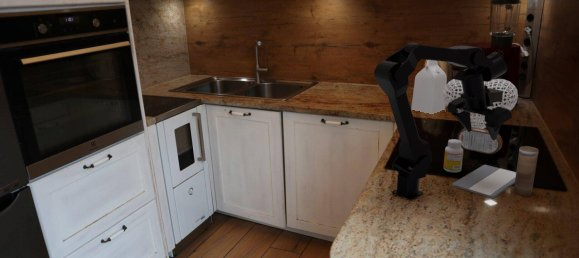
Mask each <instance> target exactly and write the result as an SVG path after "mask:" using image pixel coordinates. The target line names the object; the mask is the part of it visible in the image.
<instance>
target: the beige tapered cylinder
mask: <svg viewBox="0 0 579 258" xmlns="http://www.w3.org/2000/svg"><path fill="white" fill-rule="evenodd" d="M538 156H539V149H538V148H536V147H533V146H528V145H525V146H524V145H522V146H520V147H519V150H518V158H517V164H516V165H517V166H516V169H515V170H516V171H515V172H516V177H515V183H514V184H513V193H515V194H517V195H519V196H525V197H526V196H531V195H532V194H533V193H532V192H533V187H534V180H535V175H536V169H537V163H538V162H537V161H538Z"/></svg>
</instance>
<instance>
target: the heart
mask: <svg viewBox="0 0 579 258" xmlns="http://www.w3.org/2000/svg"><path fill="white" fill-rule="evenodd" d="M484 85H486V86H487V87H488V88H490V89H496V90H501V91H503V98H502V102H494V103H493V105H492V106H489V107H488V108H487V109H491V110H493V109H495V108H496V107H502V108H506V109H509V110H511V111H512V110H513V109H514V108H515V106H516V104H517V102H518V99H519V97H518V96H519V94H518V89H517V87H516V86H515V85H514V84H513V83H512V82H511V81H509V80H506V79H503V78H495V79H493V80H491V81H489V82H485V81H484ZM456 90H457V91H456ZM445 91H446V93H445ZM449 93H450V94H449ZM462 93H463V88H462V83H461V81H460V80H455V79H454V78H453V79H451V80H449V81H448V82H447V83H446V86H445V88H444V91H443V99H444V102H445V104H446V106H445V107H447V106H448V103H449V102H451V101H453V100H455V99H457V98H458V97H461V96H460V94H462ZM496 104H497V105H496ZM484 117H485V116H484V115H481V114H474V113H471V112H470V118H471V126H472V127H474V128H480V129H487V128H486V126H485V124H486V122H485V119H484Z"/></svg>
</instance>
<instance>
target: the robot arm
mask: <svg viewBox="0 0 579 258" xmlns="http://www.w3.org/2000/svg"><path fill="white" fill-rule="evenodd" d="M500 55H501V54H500V53H499V52H494V51H493V52H491V53H489V54H488V55H486V54H485V53H484V52H483V49H482V48H481V47H479V46H469V45H456V46H455V45H454V46H451V47H442V46H434V45H433V46H432V45H425V44H424V45H423V44H421V43H415V42H408V43H407V44H405V45H403V46H402V47H401V48H400V49H399V50H397V51H395V52H394V53H392V54H390V55H388V56H387V57H386V58H385V59H384V60H382V61H380V62H378V63H377V65H376V67H375V68H374V70H373V74H374V75H373V76H374V78H375V80H376V82H377V85H378V86H379V88H381V90H382V91H383V92H384V94H385V95H386V97H387V98H388V102H389V105H390V108H391V113H392V115H393V118H394V121H395V124H396V125H395V126H396V128H397V131H398V134H399V138H400V144H399V146H398V147H399V148H398V151H399V154H398V155H397V156H396V158H395V159H394V160H393V161H392V162H391V166H392V170H394V171H395V172H398V173H397V178H396V179H397V181H396V189H394V190H392V191H391V194H393V195H394V196H395V195H396V196H398V197H400V198H403V199H406V200H409V201H414V199H416V198H418V197H420V196H422V195H423V194H424V191H422V190H419V189H420V179H425V178H426V176H427V174H428V171H429V168H430V166H431V163H432V162H433V161H432V160H433V157H432V156H434V153H433V152H432V150H431V145H430V142H429V141H427V140H424V139H422V138H420V135H419V131H418V129H417V125H416V122H415V121H416V120H415V118H414V114H413V113H412V110H411V108H412V106H411V104H410V100H409V97H408V93H407V91H408V88H409V84H410V78H409V77H410V75H412V73H414V72H415V71H416V68H417V66H418V64H419V62H421V60H434V61H437V62H445V63H446V62H447V63H448V64H451V65H453V66H456V67H461V68H466V69H463V70H460V69H459V70H458V71H457V73H455V75H454V76H453V79H455V80H460V81H461V84H462V88H463V93H459V95H460V96H461V97H458V98H457V99H454V100H451V102H450V101H449V103H448V106H446V108H447V112H448V113H450V114H451V115H452V116H453V117H454V118H455V119H456V120H457V121H458V122H459V123H460V124H461V125H462V127H463V129H464V128H465V129H466V130H467V131H468V132H470V131H472V126H473V125H471V123H472V122H471V120H472V119H471V118H470V116H471V114H470V113H474V114H473V115H476V114H481V116H482V115H483V117H484V116H485V117H484V119H485V120H484V121H485V122H486V124H485V123H484V124H485V126H486V128H485V129H486V130H488V132H489V134H490V137H491V138H492V140H493V141H494V140H496V139H497V135H498V134H499V131H500V128H501V126H502V125H503V124H504V123H506V122H507V121H509V120H511V119H512V118H513V115H512V110H509V109H506V108H505V107H503V108H502V106H501V107H496V108H492V110H491V109H490V108H488V107H490V106H492V107H493V106H494V104H493V103H494V102H502V101H503V92H504V91H501V90H496V88H493V89H491V88H488V86H486V84H485V85H484V82H489V81H491V80H494V79H498V78H499V77H500V76H502V75H503V74H505V73H506V72H507V71H508V64H507V62H506V61H505V59H504V58H503V57H501V56H500ZM502 103H503V102H502ZM487 108H488V109H487Z"/></svg>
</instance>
